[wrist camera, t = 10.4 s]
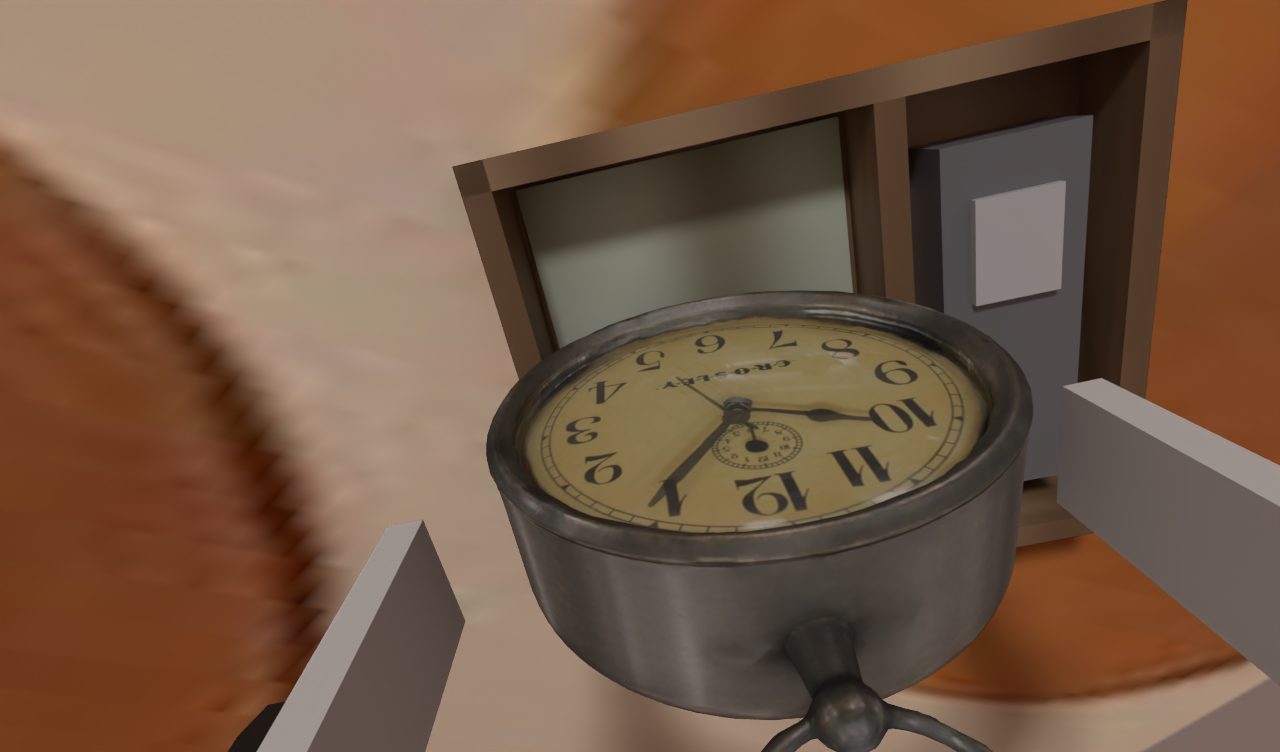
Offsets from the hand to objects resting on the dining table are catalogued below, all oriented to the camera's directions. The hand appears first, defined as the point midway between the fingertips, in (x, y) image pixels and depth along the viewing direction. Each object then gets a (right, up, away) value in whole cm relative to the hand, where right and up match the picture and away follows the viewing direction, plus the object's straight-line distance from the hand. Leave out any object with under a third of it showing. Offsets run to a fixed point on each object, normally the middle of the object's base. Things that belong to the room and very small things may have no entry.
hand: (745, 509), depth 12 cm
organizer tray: (+4, +4, +8) cm, 10 cm away
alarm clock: (0, +3, +8) cm, 8 cm away
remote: (+9, +5, +7) cm, 12 cm away
